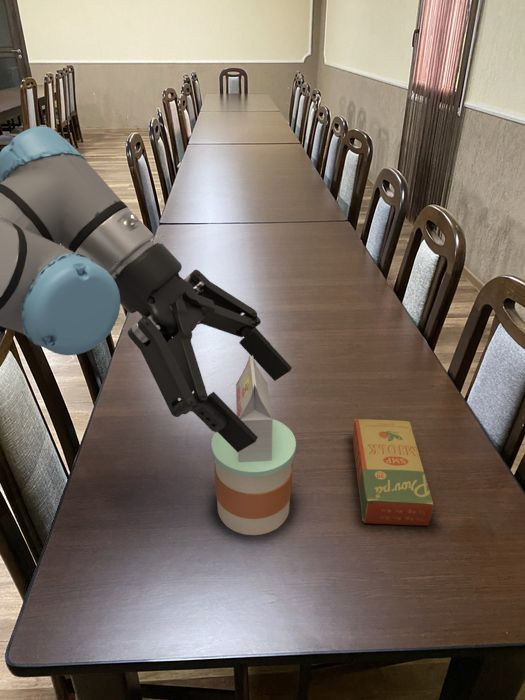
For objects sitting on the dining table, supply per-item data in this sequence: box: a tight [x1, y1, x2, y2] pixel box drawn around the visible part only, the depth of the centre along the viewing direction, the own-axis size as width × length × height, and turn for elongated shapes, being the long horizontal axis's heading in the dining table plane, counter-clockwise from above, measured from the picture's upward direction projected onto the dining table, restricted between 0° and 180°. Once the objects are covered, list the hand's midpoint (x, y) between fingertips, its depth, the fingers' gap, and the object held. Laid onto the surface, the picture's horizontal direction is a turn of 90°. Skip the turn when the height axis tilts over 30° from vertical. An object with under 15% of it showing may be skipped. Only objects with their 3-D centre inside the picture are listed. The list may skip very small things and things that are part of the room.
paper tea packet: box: [235, 354, 274, 462], centre depth 61 cm, size 4×7×10 cm, turn 4°
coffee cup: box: [210, 418, 297, 536], centre depth 66 cm, size 10×10×11 cm
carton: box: [352, 418, 434, 527], centre depth 72 cm, size 8×16×4 cm, turn 177°
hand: (267, 406), depth 60 cm, fingers open, 13 cm apart
